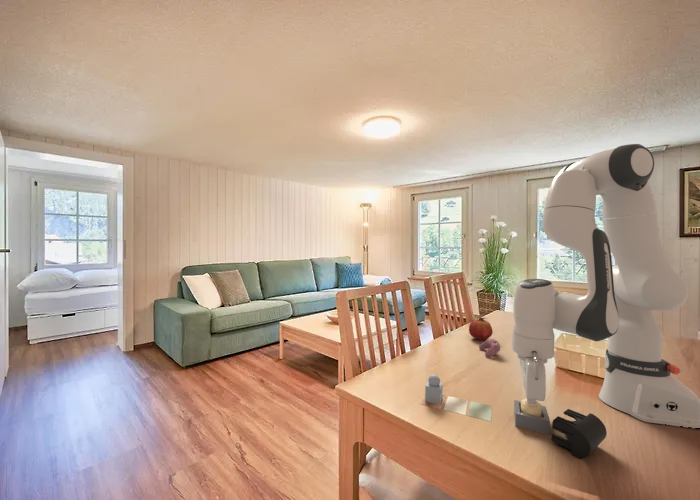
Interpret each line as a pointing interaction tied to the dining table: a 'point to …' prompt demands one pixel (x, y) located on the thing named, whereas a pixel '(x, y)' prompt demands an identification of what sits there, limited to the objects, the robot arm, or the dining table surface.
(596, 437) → the end cap
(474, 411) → the game board
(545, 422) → the box
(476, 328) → the fruit
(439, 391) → the pawn
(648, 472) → the dining table surface
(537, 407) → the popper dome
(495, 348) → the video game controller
